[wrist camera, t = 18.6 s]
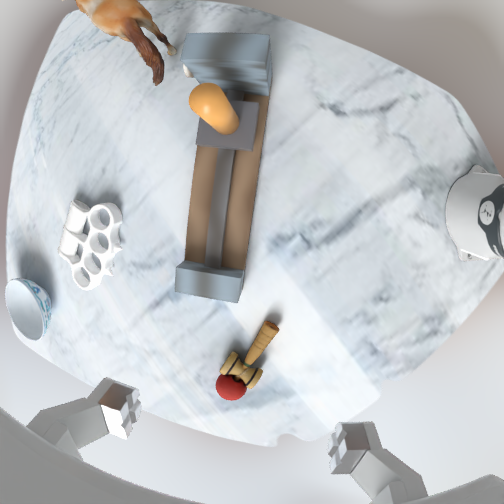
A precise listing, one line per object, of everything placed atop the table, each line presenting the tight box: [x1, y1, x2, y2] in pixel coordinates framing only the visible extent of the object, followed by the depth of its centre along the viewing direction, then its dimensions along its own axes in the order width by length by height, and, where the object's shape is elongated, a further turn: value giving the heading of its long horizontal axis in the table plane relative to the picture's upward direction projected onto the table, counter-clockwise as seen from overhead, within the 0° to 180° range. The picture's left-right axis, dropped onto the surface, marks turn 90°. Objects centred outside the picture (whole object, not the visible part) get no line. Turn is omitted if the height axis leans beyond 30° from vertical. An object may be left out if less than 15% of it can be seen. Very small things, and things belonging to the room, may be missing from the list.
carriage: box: [189, 83, 259, 152], centre depth 32 cm, size 8×7×14 cm
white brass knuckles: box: [58, 199, 123, 290], centre depth 47 cm, size 3×18×15 cm
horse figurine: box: [62, 0, 176, 86], centre depth 29 cm, size 31×8×21 cm, turn 41°
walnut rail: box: [175, 33, 272, 303], centre depth 37 cm, size 11×36×15 cm, turn 172°
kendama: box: [216, 321, 279, 400], centre depth 49 cm, size 8×6×18 cm
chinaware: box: [5, 278, 51, 341], centre depth 50 cm, size 15×15×8 cm
